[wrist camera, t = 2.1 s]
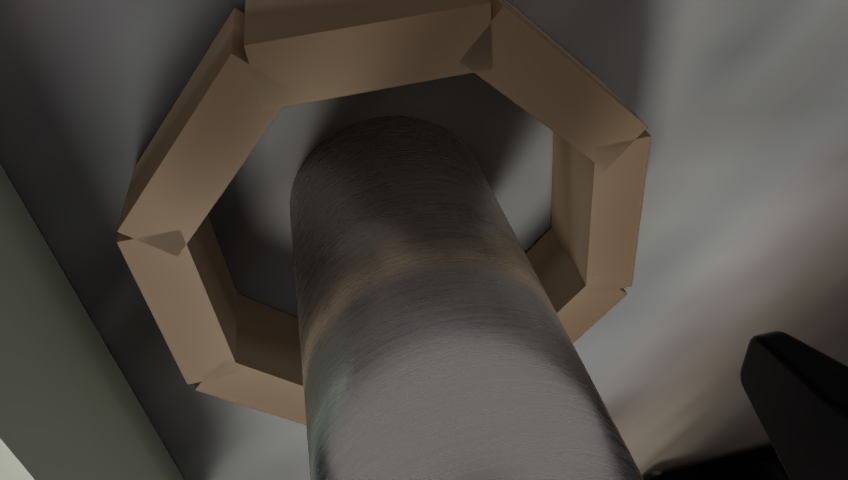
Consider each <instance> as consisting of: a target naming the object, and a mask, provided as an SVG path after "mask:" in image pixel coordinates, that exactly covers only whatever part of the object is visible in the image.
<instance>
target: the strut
mask: <svg viewBox="0 0 848 480" xmlns="http://www.w3.org/2000/svg"><path fill="white" fill-rule="evenodd" d="M290 220H291V232H292V245H293V258H294V271H295V284H296V297H297V310H298V322H299V335H300V348H301V361H302V374H303V387H304V400H305V412H306V425H307V438H308V451H309V464H310V477H311V480H644V479H643V477H642V475H641V473H640V471H639V469H638V467H637V465H636V463H635V462H634V460H633V458H632V456H631V454H630V452H629V450H628V448H627V446H626V444H625V442H624V441H623V439H622V437H621V435H620V433H619V431H618V429H617V427H616V425H615V423H614V422H613V420H612V418H611V416H610V414H609V412H608V410H607V408H606V406H605V404H604V403H603V401H602V399H601V397H600V395H599V393H598V391H597V389H596V387H595V385H594V384H593V382H592V380H591V378H590V376H589V374H588V372H587V370H586V368H585V366H584V364H583V363H582V361H581V359H580V357H579V355H578V353H577V351H576V349H575V347H574V345H573V344H572V342H571V340H570V338H569V336H568V334H567V332H566V330H565V328H564V326H563V325H562V323H561V321H560V319H559V317H558V315H557V313H556V311H555V309H554V307H553V306H552V304H551V302H550V300H549V298H548V296H547V294H546V292H545V290H544V288H543V287H542V285H541V283H540V281H539V279H538V277H537V275H536V273H535V271H534V269H533V267H532V266H531V264H530V262H529V260H528V258H527V256H526V254H525V252H524V250H523V248H522V247H521V245H520V243H519V241H518V239H517V237H516V235H515V233H514V231H513V229H512V228H511V226H510V224H509V222H508V220H507V218H506V216H505V214H504V212H503V210H502V209H501V207H500V205H499V203H498V201H497V199H496V197H495V195H494V193H493V191H492V189H491V188H490V186H489V184H488V182H487V180H486V178H485V176H484V174H483V172H482V170H481V169H480V167H479V165H478V163H477V161H476V159H475V157H474V156H473V154H472V153H471V151H470V150H469V148H468V147H467V146H466V145H465V144H464V143H463V142H462V141H461V140H460V139H459V138H458V137H457V136H455V135H454V134H453V133H451V132H450V131H448V130H446V129H445V128H443V127H441V126H439V125H436V124H434V123H431V122H429V121H425V120H421V119H417V118H409V117H383V118H375V119H371V120H367V121H363V122H360V123H357V124H354V125H352V126H349V127H347V128H345V129H343V130H341V131H339V132H337V133H336V134H334V135H333V136H331V137H330V138H328V139H327V140H325V141H324V142H323V143H322V144H321V145H320V146H319V147H317V148H316V149H315V150H314V151H313V152H312V154H311V155H310V156H309V157H308V158H307V159H306V161H305V162H304V164H303V166H302V167H301V169H300V170H299V172H298V174H297V177H296V179H295V181H294V184H293V188H292V191H291V198H290Z"/></svg>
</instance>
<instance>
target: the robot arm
mask: <svg viewBox="0 0 848 480" xmlns="http://www.w3.org/2000/svg"><path fill="white" fill-rule="evenodd" d="M741 382H742V385H743V388H744V390H745V392H746V394H747V396H748V398H749V400H750V402H751V404H752V406H753V408H754V410H755V412H756V414H757V416H758V418H759V420H760V422H761V424H762V426H763V428H764V430H765V432H766V434H767V436H768V438H769V440H770V442H771V444H772V446H773V448H770V449H766V450H762V451H758V452H754V453H750V454H746V455H742V456H738V457H734V458H730V459H726V460H722V461H718V462H714V463H710V464H706V465H702V466H698V467H694V468H690V469H686V470H682V471H678V472H674V473H671V474H667V475H663V476H659V477H655V478H652V479H649V480H848V366H846V365H844V364H842V363H840V362H838V361H837V360H835V359H833V358H831V357H829V356H827V355H825V354H824V353H822V352H820V351H818V350H816V349H814V348H812V347H811V346H809V345H807V344H805V343H803V342H801V341H800V340H798V339H796V338H794V337H792V336H790V335H788V334H786V333H784V332H780V331H773V332H769V333H765V334H760V335H756V336H754V337H753V338H752V339H751V340H750V342H749V345H748V348H747V351H746V355H745V358H744V362H743V365H742V368H741Z"/></svg>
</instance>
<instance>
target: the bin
mask: <svg viewBox="0 0 848 480" xmlns="http://www.w3.org/2000/svg"><path fill="white" fill-rule="evenodd" d="M0 480H184V478H183V477H182V475H181V473H180V471H179V470H178V468H177V466H176V465H175V463H174V461H173V459H172V458H171V456H170V454H169V453H168V451H167V449H166V447H165V446H164V444H163V442H162V440H161V439H160V437H159V435H158V434H157V432H156V430H155V428H154V427H153V425H152V423H151V422H150V420H149V418H148V416H147V415H146V413H145V411H144V410H143V408H142V406H141V404H140V403H139V401H138V399H137V398H136V396H135V394H134V392H133V391H132V389H131V387H130V386H129V384H128V382H127V380H126V379H125V377H124V375H123V373H122V372H121V370H120V368H119V367H118V365H117V363H116V361H115V360H114V358H113V356H112V355H111V353H110V351H109V349H108V348H107V346H106V344H105V343H104V341H103V339H102V337H101V336H100V334H99V332H98V331H97V329H96V327H95V325H94V324H93V322H92V320H91V319H90V317H89V315H88V313H87V312H86V310H85V308H84V306H83V305H82V303H81V301H80V300H79V298H78V296H77V294H76V293H75V291H74V289H73V288H72V286H71V284H70V282H69V281H68V279H67V277H66V276H65V274H64V272H63V270H62V269H61V267H60V265H59V264H58V262H57V260H56V258H55V257H54V255H53V253H52V252H51V250H50V248H49V246H48V245H47V243H46V241H45V239H44V238H43V236H42V234H41V233H40V231H39V229H38V227H37V226H36V224H35V222H34V221H33V219H32V217H31V215H30V214H29V212H28V210H27V209H26V207H25V205H24V203H23V202H22V200H21V198H20V197H19V195H18V193H17V191H16V190H15V188H14V186H13V185H12V183H11V181H10V179H9V178H8V176H7V174H6V172H5V171H4V169H3V167H2V166H1V164H0Z"/></svg>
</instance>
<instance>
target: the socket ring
mask: <svg viewBox="0 0 848 480" xmlns="http://www.w3.org/2000/svg"><path fill="white" fill-rule="evenodd" d="M473 72H474V73H475V74H477V75H478V76H479V77H481V78H482V79H483V80H485V81H486V82H487V83H489V84H490V85H491V86H493V87H494V88H496V89H497V90H498V91H500V92H501V93H502V94H504V95H505V96H506V97H508V98H509V99H510V100H512V101H513V102H514V103H516V104H517V105H518V106H520V107H521V108H522V109H524V110H525V111H526V112H528V113H529V114H531V115H532V116H533V117H535V118H536V119H537V120H539V121H540V122H541V123H543V124H544V125H545V126H547V127H548V128H549V129H551V130H552V131H553V167H552V209H551V228H550V229H549V230H548V231H547V232H546V233H545V234H544V235H543V236H542V237H541V238H540V240H539V241H538V242H537V243H536V244H535V245H534V246H533V247H532V248H531V249H530V250H529V251H528V252H527V253H526V256H527V258H528V260H529V262H530V264H531V266H532V267H533V269H534V271H535V273H536V275H537V277H538V279H539V281H540V283H541V285H542V287H543V288H544V290H545V292H546V294H547V296H548V298H549V300H550V302H551V304H552V306H553V307H554V309H555V311H556V313H557V315H558V317H559V319H560V321H561V323H562V325H563V326H564V328H565V330H566V332H567V334H568V336H569V338H570V340H571V342H572V344H573V343H574V342H575V341H576V340H577V339H578V338H579V337H580V336H582V335H583V334H584V333H585V332H586V331H587V330H588V329H589V328H590V327H591V326H593V325H594V324H595V323H596V322H597V321H598V320H599V319H600V318H601V317H602V316H604V315H605V314H606V313H607V312H608V311H609V310H610V309H611V308H612V307H613V306H615V305H616V304H617V303H618V302H619V301H620V300H621V299H622V298H623V297H624V296H626V295H627V293H626V291H625V290H624V288H626V287H631V286H632V281H633V273H634V266H635V258H636V250H637V242H638V234H639V227H640V219H641V211H642V203H643V195H644V187H645V180H646V172H647V164H648V156H649V148H650V141H651V136H650V135H649V134H648V133H647V132H646V131H645V129H646V128H647V126H646V125H645V124H644V123H643V122H642V121H641V120H640V119H639V118H638V117H637V116H636V115H635V114H634V113H633V112H632V111H631V110H630V109H629V108H628V107H627V106H626V105H625V104H624V103H623V102H622V101H621V100H620V99H619V98H618V97H617V96H616V95H615V94H614V93H613V92H612V91H611V90H610V89H609V88H608V87H607V86H606V85H605V84H604V83H603V82H602V81H601V80H600V79H599V78H598V77H596V76H595V75H594V74H593V73H592V72H590V71H589V70H588V69H587V68H586V67H585V66H583V65H582V64H581V63H580V62H579V61H577V60H576V59H575V58H574V57H573V56H572V55H570V54H569V53H568V52H567V51H566V50H565V49H563V48H562V47H561V46H560V45H559V44H557V43H556V42H555V41H554V40H553V39H552V38H550V37H549V36H548V35H547V34H546V33H544V32H543V31H542V30H541V29H540V28H539V27H537V26H536V25H535V24H534V23H533V22H532V21H530V20H529V19H528V18H527V17H526V16H524V15H523V14H522V13H521V12H520V11H519V10H517V9H516V8H515V7H514V6H513V5H512V4H510V3H509V2H508V1H507V0H245V14H244V13H243V12H241V11H240V10H238V9H237V8H235V7H234V9H233V10H232V12H231V14H230V15H229V17H228V18H227V20H226V22H225V23H224V25H223V26H222V28H221V30H220V31H219V33H218V34H217V36H216V38H215V39H214V41H213V42H212V44H211V46H210V47H209V49H208V50H207V52H206V54H205V55H204V57H203V58H202V60H201V62H200V63H199V65H198V66H197V68H196V70H195V71H194V73H193V75H192V76H191V78H190V79H189V81H188V83H187V84H186V86H185V87H184V89H183V91H182V92H181V94H180V95H179V97H178V99H177V100H176V102H175V103H174V105H173V107H172V108H171V110H170V111H169V113H168V115H167V116H166V118H165V119H164V121H163V123H162V124H161V126H160V127H159V129H158V131H157V132H156V134H155V135H154V137H153V139H152V140H151V142H150V143H149V145H148V147H147V148H146V150H145V152H144V153H143V155H142V156H141V158H140V160H139V161H138V163H137V164H136V166H135V168H134V172H133V176H132V179H131V183H130V187H129V190H128V194H127V198H126V201H125V205H124V209H123V212H122V216H121V219H120V223H119V227H118V230H117V232H119V236H118V239H117V244H118V246H119V248H120V250H121V252H122V254H123V256H124V258H125V260H126V262H127V264H128V266H129V268H130V270H131V272H132V274H133V276H134V278H135V280H136V282H137V284H138V286H139V288H140V290H141V292H142V294H143V296H144V298H145V300H146V302H147V304H148V306H149V308H150V310H151V312H152V314H153V316H154V318H155V320H156V322H157V324H158V326H159V328H160V330H161V333H162V335H163V337H164V339H165V341H166V343H167V345H168V347H169V349H170V351H171V353H172V355H173V357H174V359H175V361H176V363H177V365H178V367H179V369H180V371H181V373H182V375H183V377H184V379H185V381H186V383H187V385H188V384H193V383H196V384H195V390H196V391H199V392H202V393H205V394H209V395H212V396H215V397H218V398H221V399H224V400H228V401H231V402H234V403H237V404H240V405H244V406H247V407H250V408H253V409H256V410H260V411H263V412H266V413H269V414H272V415H275V416H279V417H282V418H285V419H288V420H291V421H295V422H298V423H301V424H304V425H306V412H305V400H304V387H303V374H302V361H301V348H300V335H299V322H298V318H296V317H294V316H291V315H289V314H286V313H284V312H282V311H279V310H277V309H274V308H272V307H269V306H267V305H264V304H262V303H259V302H257V301H255V300H252V299H250V298H247V297H245V296H242V295H240V294H237V291H236V288H235V286H234V283H233V280H232V278H231V275H230V272H229V270H228V267H227V264H226V262H225V259H224V256H223V254H222V251H221V248H220V246H219V243H218V240H217V238H216V235H215V232H214V230H213V227H212V224H211V222H210V219H209V216H208V213H209V212H210V210H211V209H212V207H213V206H214V204H215V203H216V202H217V200H218V199H219V197H220V196H221V195H222V193H223V192H224V190H225V189H226V187H227V186H228V185H229V183H230V182H231V180H232V179H233V177H234V176H235V175H236V173H237V172H238V170H239V169H240V168H241V166H242V165H243V163H244V162H245V160H246V159H247V158H248V156H249V155H250V153H251V152H252V150H253V149H254V148H255V146H256V145H257V143H258V142H259V141H260V139H261V138H262V136H263V135H264V133H265V132H266V131H267V129H268V128H269V126H270V125H271V123H272V122H273V121H274V119H275V118H276V116H277V115H278V114H279V112H280V111H281V109H282V108H283V107H288V106H294V105H299V104H304V103H310V102H315V101H321V100H326V99H332V98H337V97H343V96H348V95H353V94H359V93H364V92H370V91H375V90H381V89H386V88H392V87H397V86H402V85H408V84H413V83H419V82H424V81H430V80H435V79H441V78H446V77H451V76H457V75H462V74H468V73H473Z"/></svg>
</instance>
